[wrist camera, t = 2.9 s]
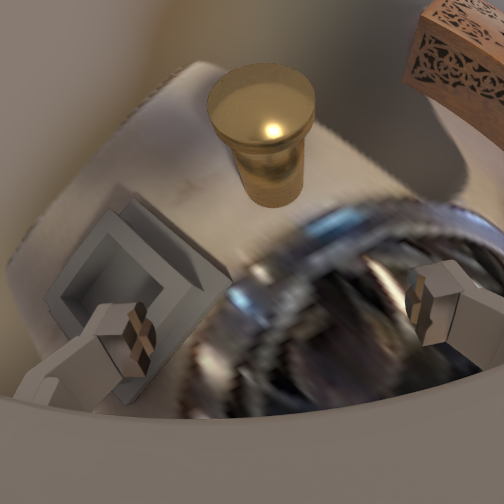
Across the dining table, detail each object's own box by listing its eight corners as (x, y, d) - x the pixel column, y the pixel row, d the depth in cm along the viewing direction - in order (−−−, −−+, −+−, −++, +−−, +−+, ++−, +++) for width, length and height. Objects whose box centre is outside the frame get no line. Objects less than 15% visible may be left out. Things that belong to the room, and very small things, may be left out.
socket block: (132, 403, 24) (107, 412, 20) (56, 312, 28) (28, 307, 24) (233, 282, 26) (221, 271, 22) (139, 202, 29) (118, 183, 25)
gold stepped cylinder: (280, 229, 27) (269, 159, 16) (222, 187, 28) (185, 110, 18) (324, 174, 28) (335, 89, 17) (267, 139, 29) (252, 51, 19)
